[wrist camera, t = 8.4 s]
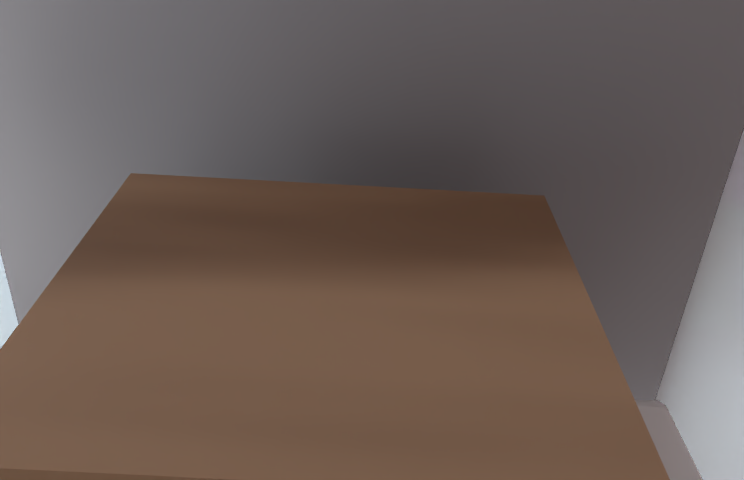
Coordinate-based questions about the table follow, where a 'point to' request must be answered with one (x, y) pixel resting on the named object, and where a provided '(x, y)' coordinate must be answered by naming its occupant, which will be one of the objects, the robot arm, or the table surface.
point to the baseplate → (389, 122)
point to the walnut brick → (317, 343)
